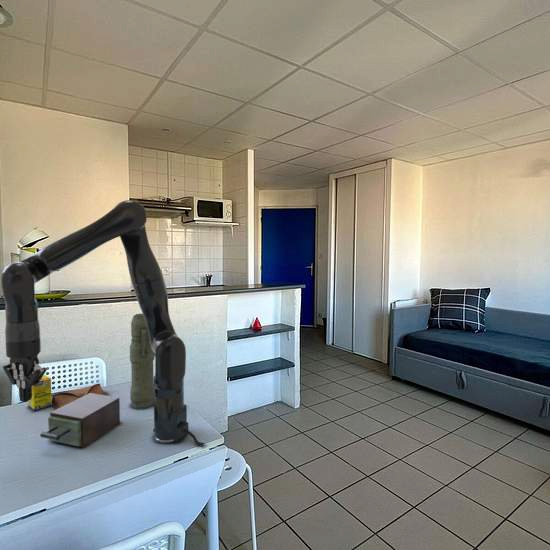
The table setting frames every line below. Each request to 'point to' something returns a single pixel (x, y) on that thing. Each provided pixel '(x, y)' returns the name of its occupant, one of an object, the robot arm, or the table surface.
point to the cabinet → (92, 415)
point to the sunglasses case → (75, 395)
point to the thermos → (141, 364)
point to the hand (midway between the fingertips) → (25, 400)
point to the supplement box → (41, 394)
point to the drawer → (63, 431)
